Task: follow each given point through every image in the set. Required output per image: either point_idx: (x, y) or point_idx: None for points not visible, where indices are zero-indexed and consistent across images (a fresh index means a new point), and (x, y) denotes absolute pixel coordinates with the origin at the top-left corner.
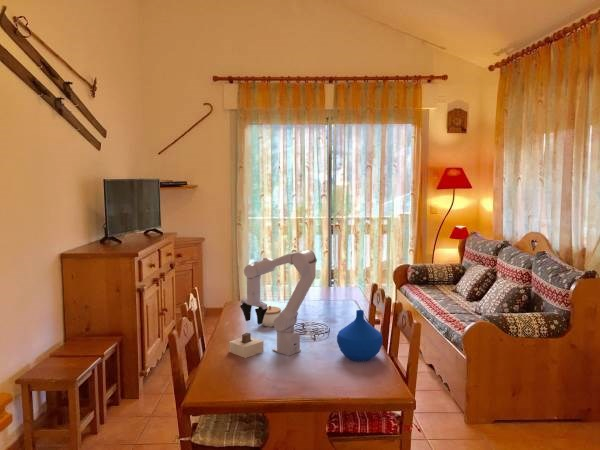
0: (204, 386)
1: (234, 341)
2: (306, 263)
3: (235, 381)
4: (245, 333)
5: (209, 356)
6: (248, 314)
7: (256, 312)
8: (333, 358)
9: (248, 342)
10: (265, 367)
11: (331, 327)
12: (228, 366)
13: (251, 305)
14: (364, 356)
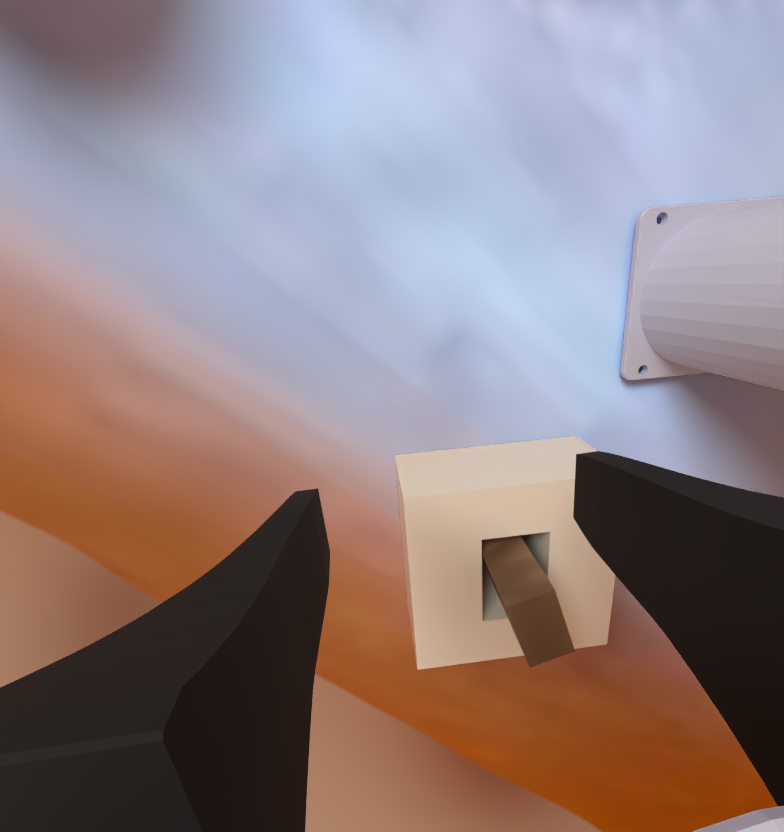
0: (647, 818)
1: (446, 643)
2: None
3: (723, 732)
4: (519, 626)
5: (383, 703)
6: (304, 584)
7: (780, 770)
8: None
9: (550, 580)
10: None
11: None
12: (576, 690)
13: (216, 690)
14: None
